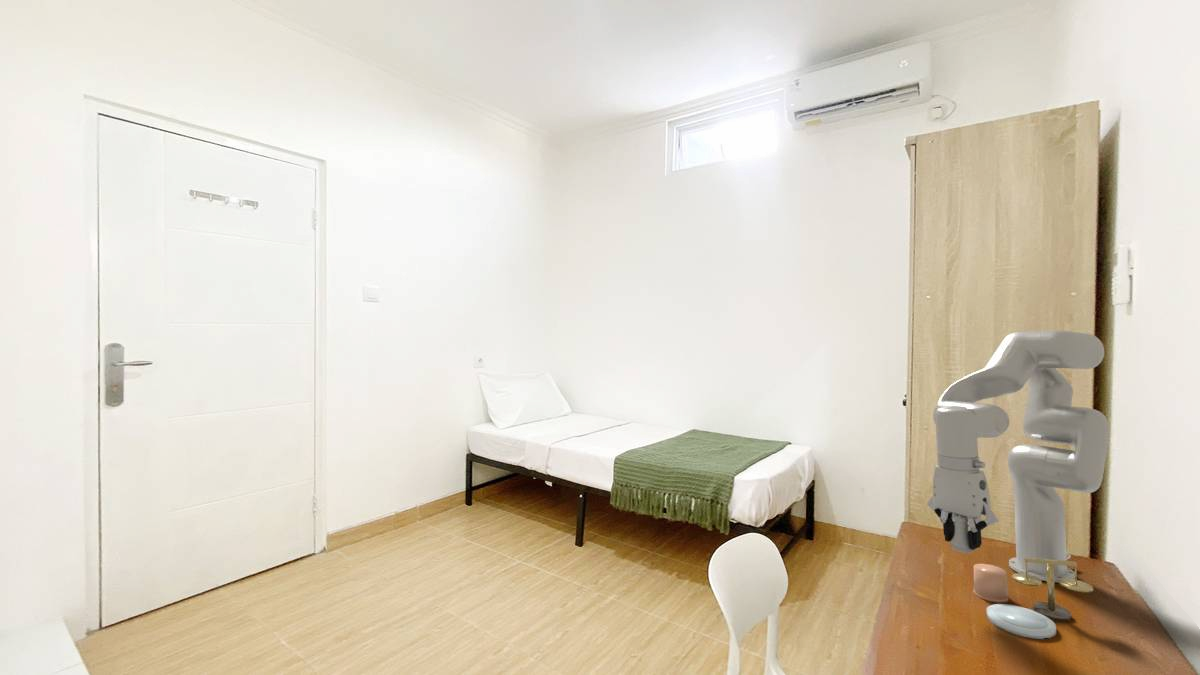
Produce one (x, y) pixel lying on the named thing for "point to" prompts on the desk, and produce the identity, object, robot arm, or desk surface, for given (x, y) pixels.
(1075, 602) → the desk surface
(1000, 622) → the dish
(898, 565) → the desk surface
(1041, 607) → the balance
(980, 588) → the peach dome knob
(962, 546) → the rook chess piece
